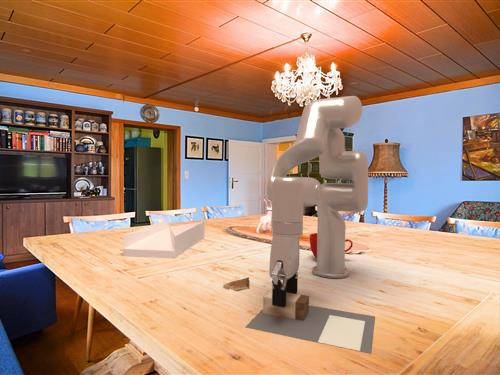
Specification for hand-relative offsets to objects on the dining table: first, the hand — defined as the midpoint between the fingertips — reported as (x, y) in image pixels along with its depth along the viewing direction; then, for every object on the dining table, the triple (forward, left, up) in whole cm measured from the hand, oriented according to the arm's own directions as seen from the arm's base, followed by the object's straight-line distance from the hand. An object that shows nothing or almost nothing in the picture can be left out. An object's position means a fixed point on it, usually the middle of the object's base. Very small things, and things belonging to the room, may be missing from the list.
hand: (285, 299), depth 79 cm
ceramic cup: (-59, +1, -4) cm, 59 cm away
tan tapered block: (-1, 0, -4) cm, 4 cm away
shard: (-15, -20, -5) cm, 25 cm away
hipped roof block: (-53, -74, -5) cm, 91 cm away
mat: (+1, +7, -4) cm, 8 cm away
